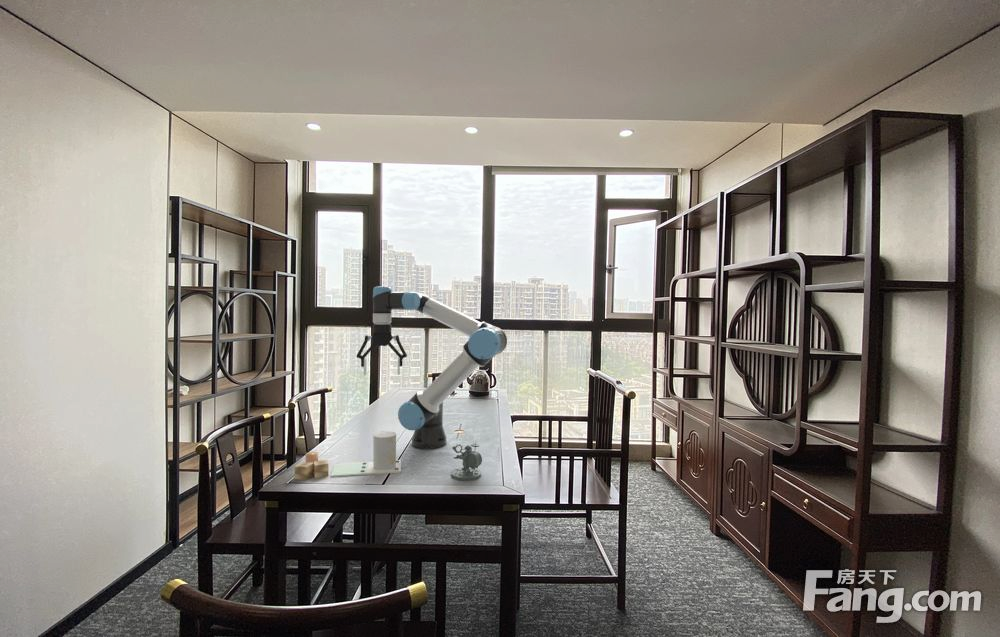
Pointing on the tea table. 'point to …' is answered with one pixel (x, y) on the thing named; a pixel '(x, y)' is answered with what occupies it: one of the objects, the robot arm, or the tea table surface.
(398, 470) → the pad two
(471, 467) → the figurine
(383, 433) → the cup
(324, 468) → the oak block
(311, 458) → the terracotta cylinder
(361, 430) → the tea table surface
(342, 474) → the pad three
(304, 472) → the oak block
